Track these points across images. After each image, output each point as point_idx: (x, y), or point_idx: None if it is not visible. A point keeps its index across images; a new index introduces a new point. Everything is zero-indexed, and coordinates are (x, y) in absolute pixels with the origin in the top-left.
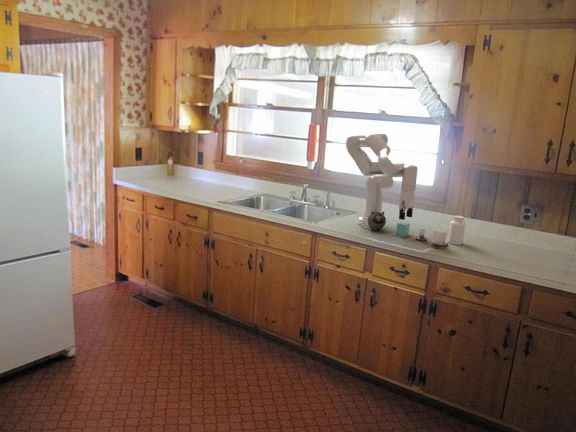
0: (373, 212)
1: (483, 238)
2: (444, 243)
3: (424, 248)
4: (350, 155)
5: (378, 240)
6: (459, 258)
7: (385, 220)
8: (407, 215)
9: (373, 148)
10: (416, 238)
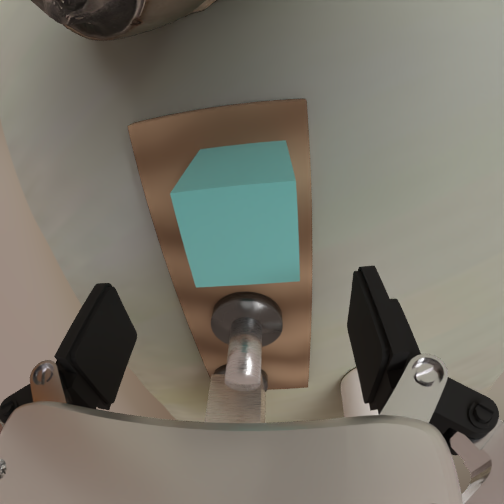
0: None
1: (486, 375)
2: (294, 381)
3: (160, 350)
4: None
5: (22, 156)
6: (188, 418)
7: (143, 20)
8: (357, 292)
9: None
10: (216, 309)
